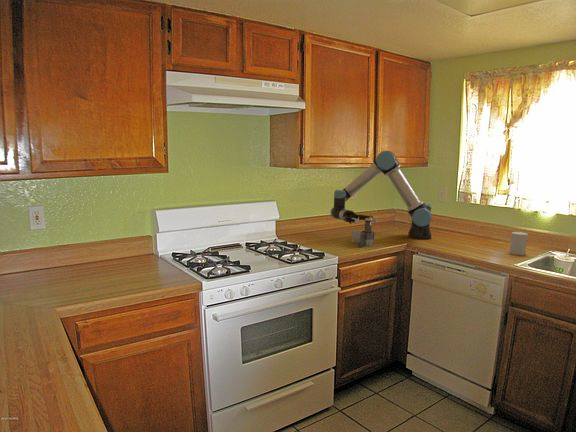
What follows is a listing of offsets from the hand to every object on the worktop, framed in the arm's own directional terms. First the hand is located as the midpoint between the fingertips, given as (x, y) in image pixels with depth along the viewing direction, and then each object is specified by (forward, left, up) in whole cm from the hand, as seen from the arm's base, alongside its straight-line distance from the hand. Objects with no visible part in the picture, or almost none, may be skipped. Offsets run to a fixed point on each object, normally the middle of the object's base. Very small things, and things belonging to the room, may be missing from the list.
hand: (367, 221), depth 256 cm
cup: (-35, +79, -15) cm, 88 cm away
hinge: (+3, -3, -15) cm, 15 cm away
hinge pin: (0, 0, -15) cm, 15 cm away
